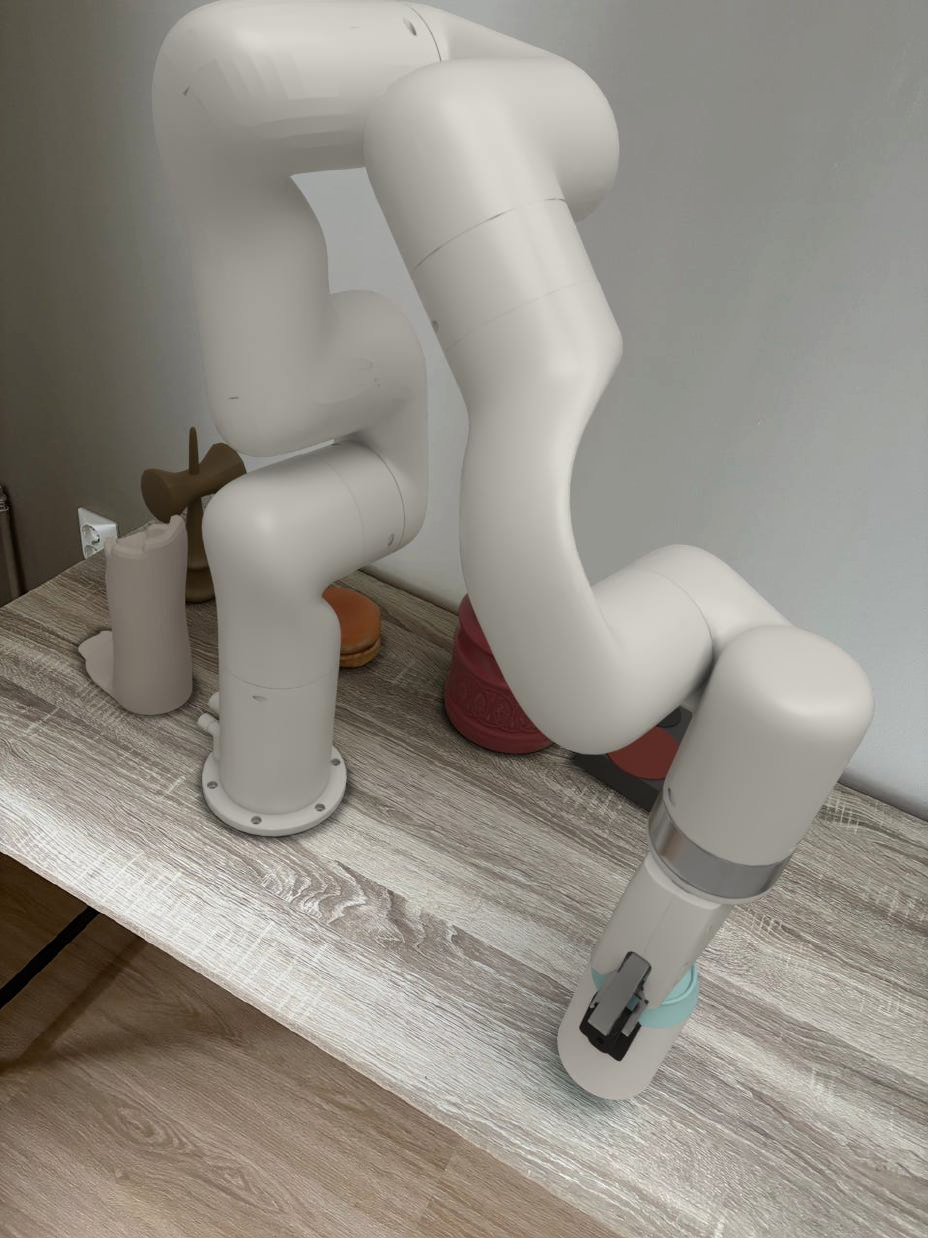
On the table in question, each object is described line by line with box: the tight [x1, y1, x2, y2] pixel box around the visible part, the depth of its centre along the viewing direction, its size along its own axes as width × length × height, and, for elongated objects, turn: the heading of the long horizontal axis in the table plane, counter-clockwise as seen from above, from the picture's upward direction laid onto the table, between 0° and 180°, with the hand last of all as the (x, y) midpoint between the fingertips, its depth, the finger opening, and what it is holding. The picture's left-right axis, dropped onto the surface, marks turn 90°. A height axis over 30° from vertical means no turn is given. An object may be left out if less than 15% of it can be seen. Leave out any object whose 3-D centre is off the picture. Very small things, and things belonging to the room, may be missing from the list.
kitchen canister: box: [443, 592, 555, 754], centre depth 94 cm, size 13×13×18 cm
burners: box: [607, 707, 682, 780], centre depth 93 cm, size 14×12×1 cm
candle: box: [77, 515, 193, 716], centre depth 90 cm, size 7×14×20 cm, turn 51°
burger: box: [322, 587, 382, 668], centre depth 102 cm, size 10×9×5 cm
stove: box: [573, 705, 693, 812], centre depth 95 cm, size 17×14×3 cm
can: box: [556, 958, 700, 1101], centre depth 65 cm, size 7×7×12 cm
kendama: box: [140, 426, 248, 603], centre depth 101 cm, size 6×10×20 cm, turn 139°
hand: (632, 1000), depth 64 cm, fingers closed on can, 7 cm apart
